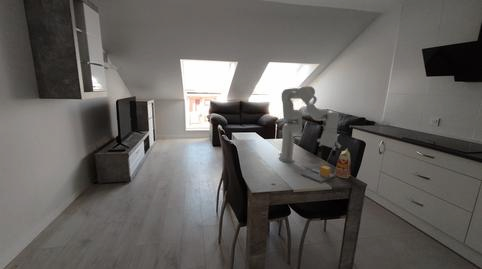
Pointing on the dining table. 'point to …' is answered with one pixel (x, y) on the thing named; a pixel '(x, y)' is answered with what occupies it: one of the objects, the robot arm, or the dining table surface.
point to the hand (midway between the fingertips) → (326, 153)
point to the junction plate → (316, 175)
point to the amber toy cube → (325, 171)
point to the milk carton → (343, 165)
